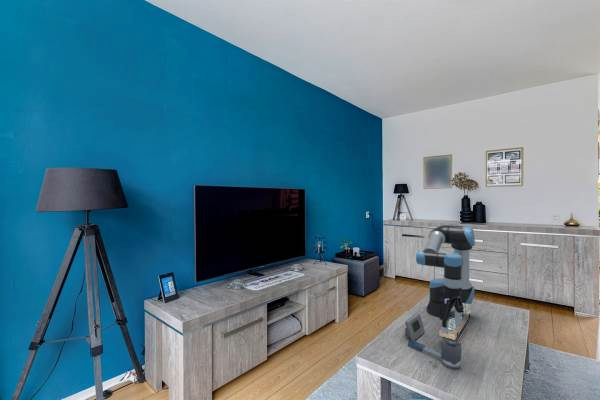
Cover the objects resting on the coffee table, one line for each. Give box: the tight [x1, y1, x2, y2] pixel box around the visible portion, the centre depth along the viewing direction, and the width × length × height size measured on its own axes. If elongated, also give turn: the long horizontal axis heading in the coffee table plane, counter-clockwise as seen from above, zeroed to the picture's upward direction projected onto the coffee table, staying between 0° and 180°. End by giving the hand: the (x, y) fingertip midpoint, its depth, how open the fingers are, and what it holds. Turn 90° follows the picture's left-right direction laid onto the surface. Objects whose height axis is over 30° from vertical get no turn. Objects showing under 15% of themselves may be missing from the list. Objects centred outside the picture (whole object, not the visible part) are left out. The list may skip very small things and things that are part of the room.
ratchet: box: [407, 339, 462, 370], centre depth 143 cm, size 8×26×6 cm, turn 37°
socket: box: [440, 338, 462, 365], centre depth 136 cm, size 6×6×9 cm
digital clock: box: [404, 312, 426, 341], centre depth 164 cm, size 16×9×11 cm, turn 121°
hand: (451, 329), depth 136 cm, fingers open, 13 cm apart
